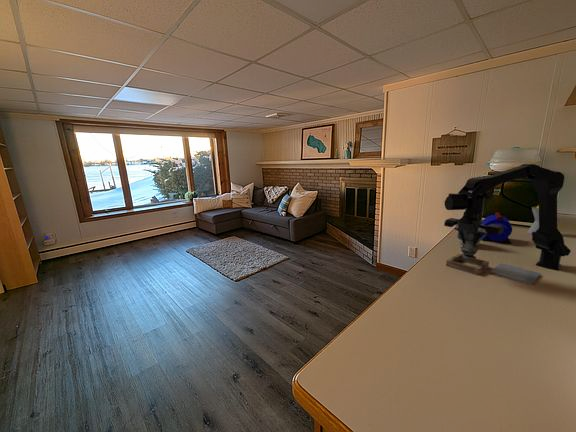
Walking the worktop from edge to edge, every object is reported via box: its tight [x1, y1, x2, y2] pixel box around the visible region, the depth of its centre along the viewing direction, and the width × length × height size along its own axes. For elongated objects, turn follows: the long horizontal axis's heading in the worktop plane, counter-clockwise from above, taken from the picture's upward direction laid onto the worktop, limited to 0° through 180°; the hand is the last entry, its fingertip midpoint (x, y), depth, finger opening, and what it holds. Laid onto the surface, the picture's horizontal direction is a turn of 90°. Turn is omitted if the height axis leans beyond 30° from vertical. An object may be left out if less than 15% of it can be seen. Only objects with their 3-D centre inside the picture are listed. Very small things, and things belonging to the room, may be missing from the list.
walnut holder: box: [445, 253, 490, 276], centre depth 102 cm, size 11×11×2 cm
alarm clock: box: [481, 211, 513, 245], centre depth 129 cm, size 12×12×15 cm
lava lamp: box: [527, 204, 539, 235], centre depth 134 cm, size 9×9×35 cm
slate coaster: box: [489, 262, 541, 286], centre depth 94 cm, size 12×12×1 cm
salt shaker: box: [460, 231, 479, 259], centre depth 100 cm, size 6×6×12 cm
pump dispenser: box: [456, 219, 484, 246], centre depth 124 cm, size 10×10×15 cm
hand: (469, 245), depth 100 cm, fingers closed on salt shaker, 3 cm apart
